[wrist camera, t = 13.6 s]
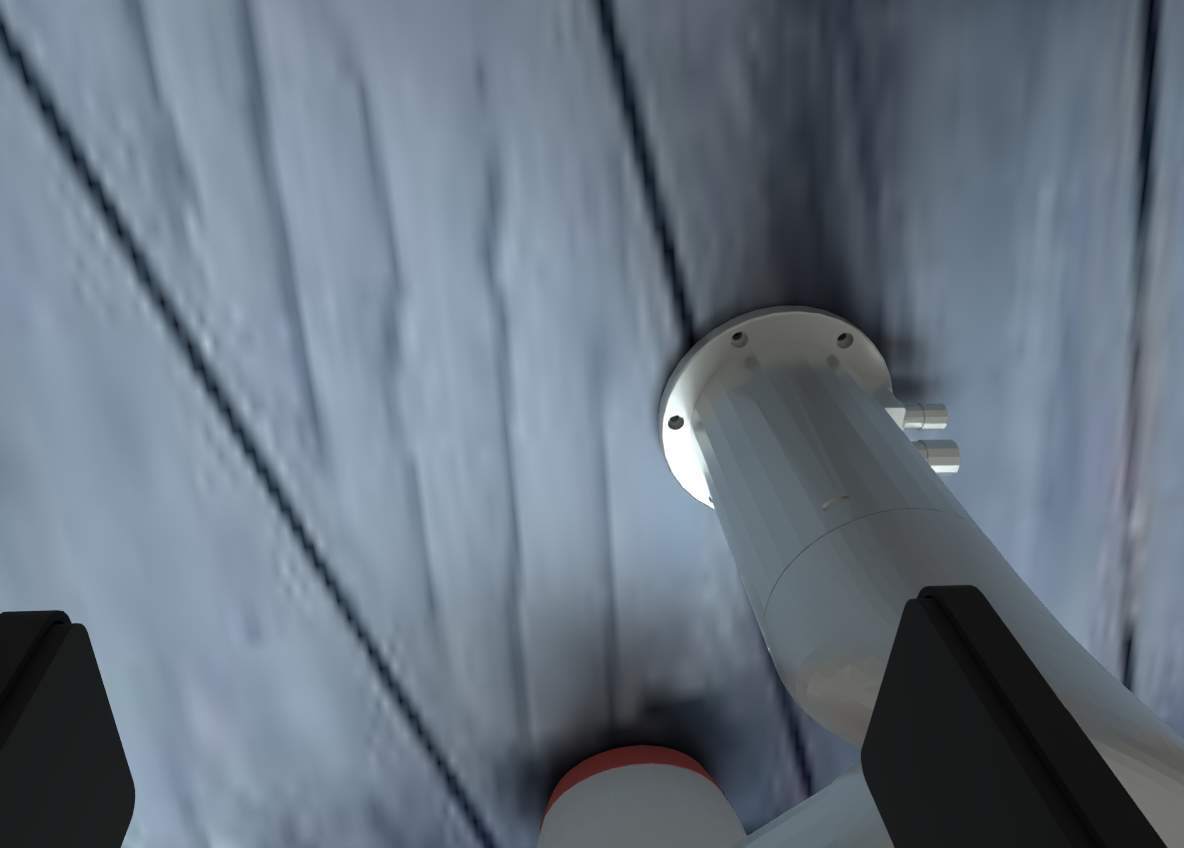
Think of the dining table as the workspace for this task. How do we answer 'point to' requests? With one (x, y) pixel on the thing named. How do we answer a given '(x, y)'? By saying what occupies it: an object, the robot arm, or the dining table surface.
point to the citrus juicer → (639, 804)
